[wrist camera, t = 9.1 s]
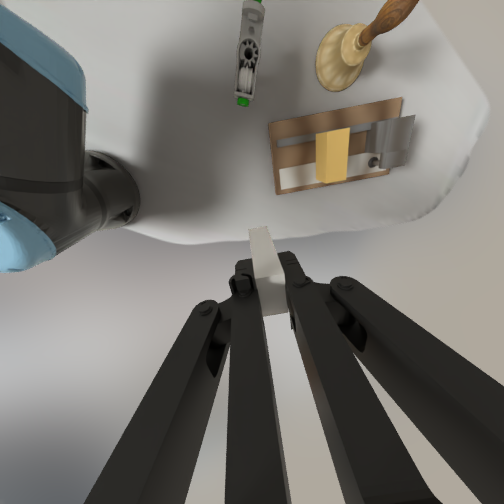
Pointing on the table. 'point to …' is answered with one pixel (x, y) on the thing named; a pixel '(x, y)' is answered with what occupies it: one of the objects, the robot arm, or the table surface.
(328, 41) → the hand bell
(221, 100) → the table surface
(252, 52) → the mechanical component
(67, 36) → the table surface
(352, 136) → the board
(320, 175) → the block
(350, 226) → the table surface
